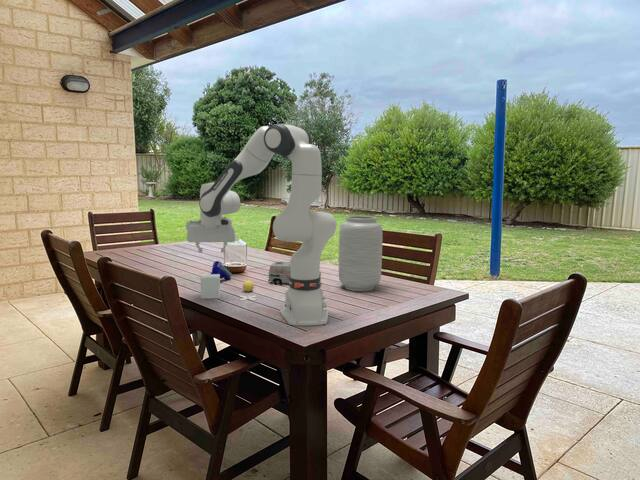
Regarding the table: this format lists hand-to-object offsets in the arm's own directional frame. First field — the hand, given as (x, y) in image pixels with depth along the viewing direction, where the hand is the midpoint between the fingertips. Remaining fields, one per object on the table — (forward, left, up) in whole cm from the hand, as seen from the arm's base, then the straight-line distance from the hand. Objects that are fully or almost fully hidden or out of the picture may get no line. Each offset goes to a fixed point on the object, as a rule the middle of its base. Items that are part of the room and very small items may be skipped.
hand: (211, 252), depth 199 cm
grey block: (-1, +1, -19) cm, 19 cm away
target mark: (-6, -15, -19) cm, 25 cm away
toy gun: (+26, -1, -20) cm, 33 cm away
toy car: (+20, -38, -20) cm, 47 cm away
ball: (+6, -15, -17) cm, 23 cm away
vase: (+9, -67, -19) cm, 71 cm away
